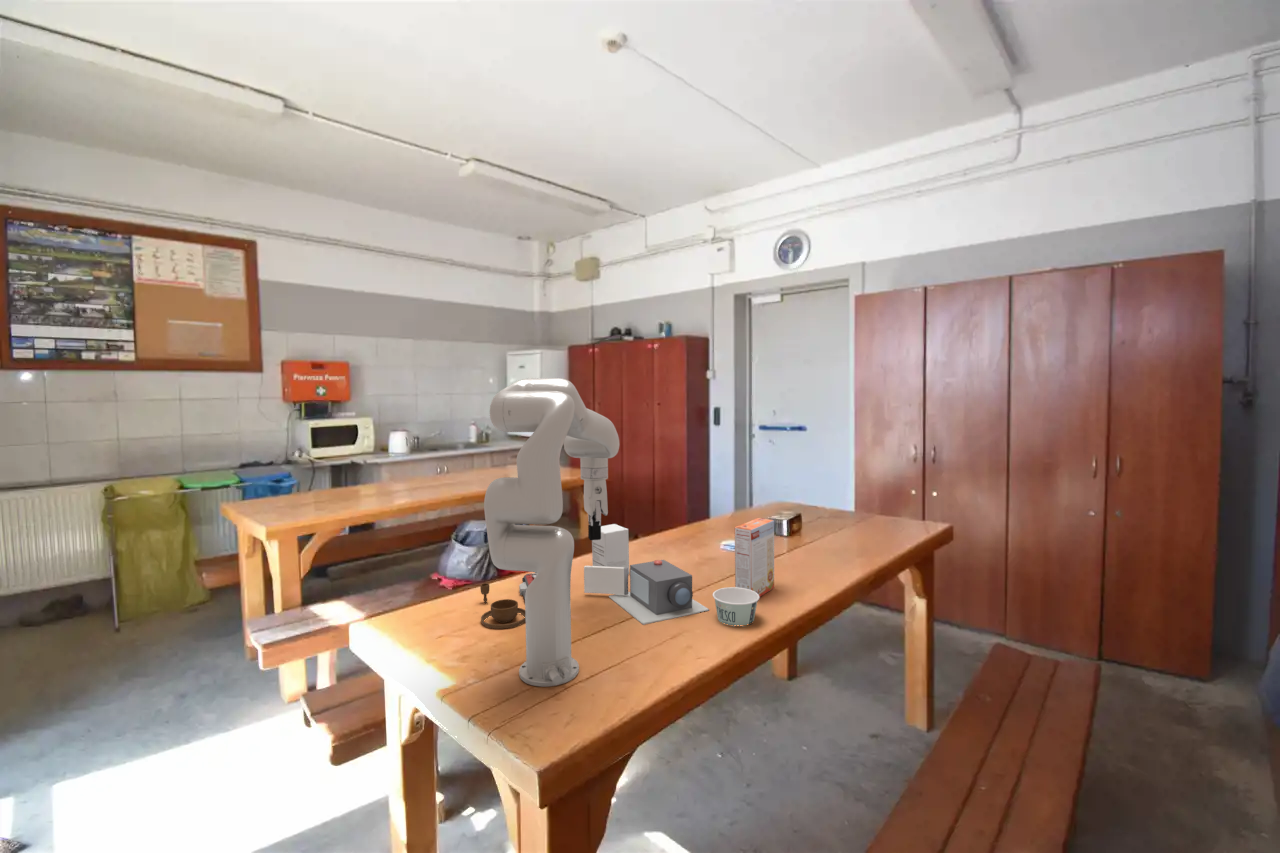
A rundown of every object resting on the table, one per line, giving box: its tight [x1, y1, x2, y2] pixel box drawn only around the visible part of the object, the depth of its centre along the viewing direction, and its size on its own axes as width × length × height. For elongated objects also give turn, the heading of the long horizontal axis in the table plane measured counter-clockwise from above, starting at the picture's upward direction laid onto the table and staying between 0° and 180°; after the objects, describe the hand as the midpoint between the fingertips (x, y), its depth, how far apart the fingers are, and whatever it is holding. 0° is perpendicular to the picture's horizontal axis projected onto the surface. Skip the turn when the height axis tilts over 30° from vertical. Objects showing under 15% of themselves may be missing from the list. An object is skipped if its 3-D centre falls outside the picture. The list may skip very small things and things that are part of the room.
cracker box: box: [734, 517, 775, 598], centre depth 172 cm, size 14×6×21 cm, turn 141°
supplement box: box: [591, 523, 630, 575], centre depth 191 cm, size 9×9×15 cm
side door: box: [583, 565, 629, 595], centre depth 171 cm, size 13×1×8 cm, turn 81°
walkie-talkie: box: [518, 572, 537, 600], centre depth 175 cm, size 9×4×20 cm
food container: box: [712, 586, 761, 627], centre depth 154 cm, size 12×12×6 cm
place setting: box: [480, 582, 526, 630], centre depth 158 cm, size 18×20×6 cm
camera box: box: [608, 559, 710, 626], centre depth 165 cm, size 22×20×10 cm
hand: (594, 539), depth 164 cm, fingers closed
